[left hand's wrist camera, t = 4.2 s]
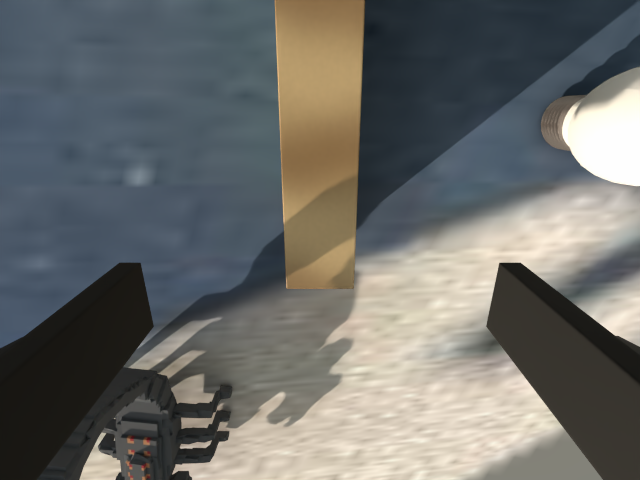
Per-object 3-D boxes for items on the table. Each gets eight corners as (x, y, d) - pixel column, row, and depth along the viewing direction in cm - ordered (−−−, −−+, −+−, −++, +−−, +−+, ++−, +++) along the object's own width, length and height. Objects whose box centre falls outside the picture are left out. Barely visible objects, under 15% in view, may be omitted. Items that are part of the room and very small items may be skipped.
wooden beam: (343, 232, 30) (353, 289, 20) (296, 232, 30) (286, 289, 20) (353, -181, 20) (382, -427, 11) (286, -181, 20) (257, -428, 11)
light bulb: (504, 130, 26) (622, 145, 16) (576, 52, 24) (761, 12, 14) (560, 183, 28) (700, 227, 18) (632, 113, 26) (836, 117, 16)
